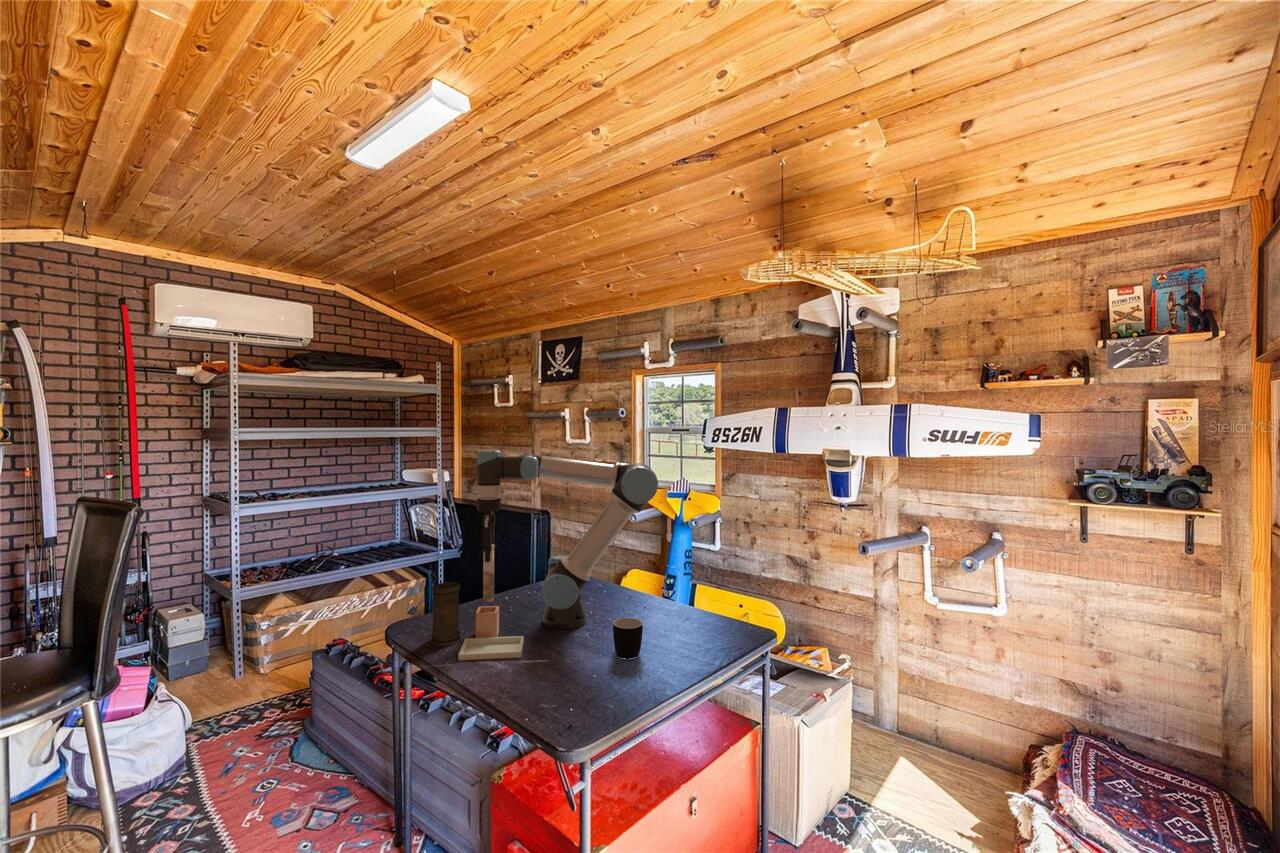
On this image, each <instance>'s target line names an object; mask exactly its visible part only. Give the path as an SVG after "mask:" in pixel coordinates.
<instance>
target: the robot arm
mask: <svg viewBox="0 0 1280 853" xmlns="http://www.w3.org/2000/svg"><path fill="white" fill-rule="evenodd" d="M476 460H477V461H476V484H477V485H476V487H475V489H474V490H475V491H476V497H477V499H476V510H477V511H479V512H483V515H482V516H481V524H482V528H481V529H482V549H480V552H481V553H482V559H483V561H482V563H483V566H482V569H483V570H482V571H483V572H492V544H494V548H497V544H495V543H496V541H495V537H496V536H495V532H496V531H495V527H496V514H495V513H494V512H495V511H499V510H501V509H502V508H501V506H502V502H501V500H502V499H501V498H500V497H501V496H502V484H501V482H502V480H504V481H505V480H520V481H521V480H525V481H528V480H530V481H531V480H536V479H537V478H541V479H542V478H545V479H552V480H559V481H565V482H566V481H567V482H574V483H575V482H576V483H581V484H582V483H583V484H589V485H598V486H606V487H607V486H608V487H611V489H612V490H611V491H610V493H611V499H610V500H609V501H608V503H607V504H606V505H605V506H604V508H603V509H602V510H601V511H600V513H599V514H598V516H597V517H596V518H595V520H594V521H593V523H591V525H590V526H589V528H588V529H587V530H586V532H585V533H584V534H583V536H582V537H581V538H580V540H579V541H578V543H577V544H576V545H575V547H574V548H573V549H572V551H571V552H570V554H568V555H555V556H551V557H550V558H549V559H548V563H547V566H548V567H547V568H548V571H547V572H548V573H547V575H546V576H545V579H544V580H543V582H542V586H541V596H542V598H543V600H544V602H545V603H546V605H545V609H544V611H543V616H542V623H543V625H545V626H546V627H549V628H550V629H553V630H572V629H576V628H580V627H582V626H584V625H585V624H586V622H587V612H586V610H585V607H584V602H583V600H582V590H583V589H584V587H585V586H586V584H587V583H589V581H590V579H591V578H590V572H591V570H592V569H593V568H594V566H595V565H596V563H597V562H598V560H600V559H601V557H602V555H603V554H604V553H605V552H606V550H607V549H608V547H609V546H610V545H611V544H612V542H613V540H615V538H616V537H617V536H618V534H619V532H620V531H621V530H622V529H623V527H624V526H625V524H626V523H627V522H628V521H629V519H630V518H631V516H632V515H633V514H640V512H641V511H642V509H644V507H645V506H646V505H647V503H648V502H650V501H651V500H652V499H653V498H654V497H655V496H656V494H657V492H658V488H659V481H658V477H657V475H656V473H655V472H654V470H653V469H652V468H651V467H650V466H648V465H646V464H644V463H641V462H639V463H638V462H633V463H630V462H629V463H626V462H618V461H617V462H616V463H614V464H610V463H604V462H602V463H601V462H595V461H594V462H592V461H584V460H577V459H571V458H562V457H554V456H547V455H538V454H537V455H536V454H533V453H529V452H527V453H522V454H521V455H519V456H517V455H516V456H503V455H502V452H501V451H500V450H497V449H494V450H493V449H483V450H480V451H478V452H477V458H476ZM483 572H482V573H483Z"/></svg>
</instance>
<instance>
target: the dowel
mask: <svg viewBox="0 0 1280 853" xmlns="http://www.w3.org/2000/svg"><path fill="white" fill-rule="evenodd" d="M494 545H495V544H492V572H482V575H483V576H482V577H483V578H482V580H483V581H482V584H483V585H482V586H483V587H482V601H483V602H484V603H485V602H486V603H490V602H491V603H492V602H493V601H494V600H495V547H494Z"/></svg>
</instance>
